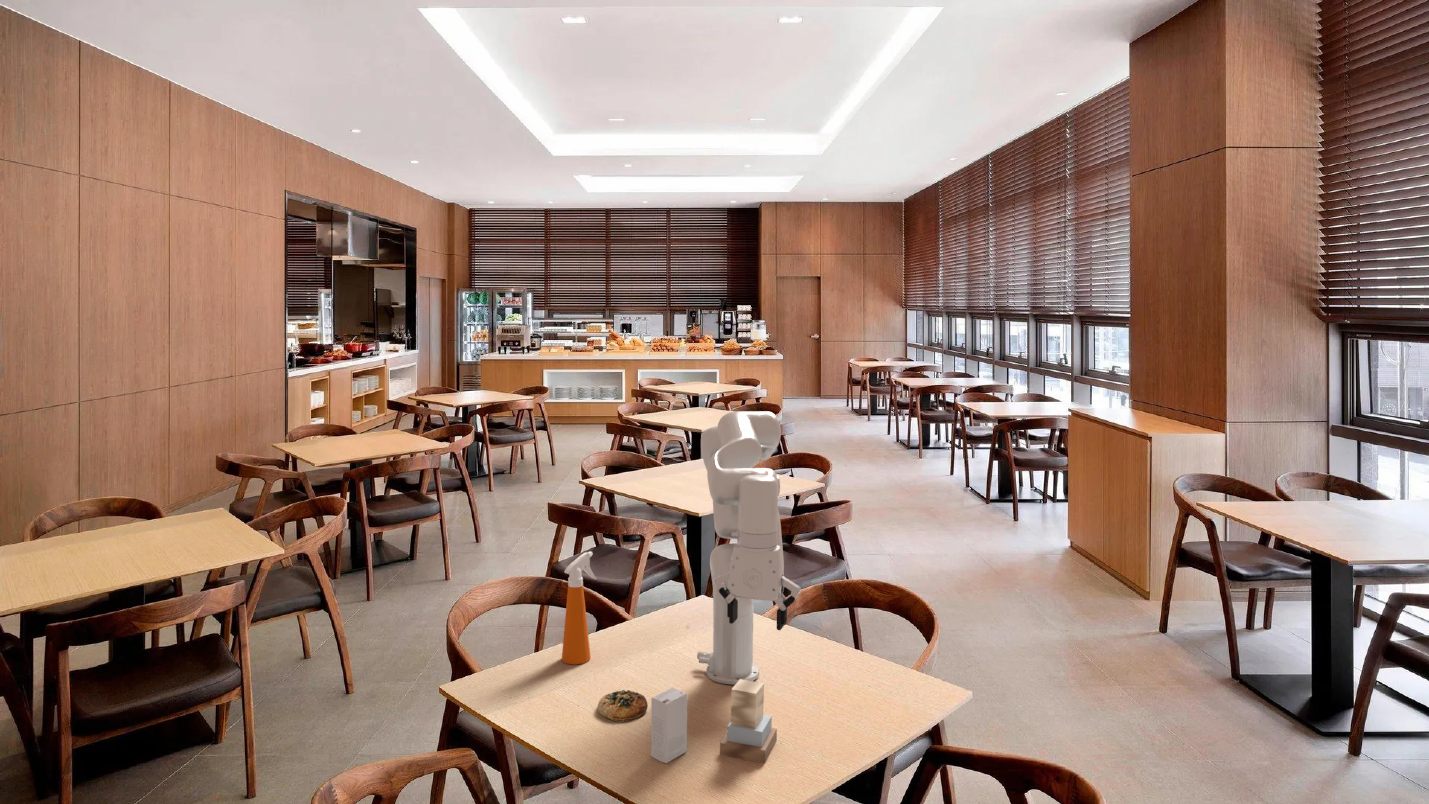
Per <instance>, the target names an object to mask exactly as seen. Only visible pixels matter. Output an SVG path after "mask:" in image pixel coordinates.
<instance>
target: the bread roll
mask: <svg viewBox="0 0 1429 804" xmlns="http://www.w3.org/2000/svg"><path fill="white" fill-rule="evenodd" d="M647 710H648V702H647V699H646V697H645V696H644V695H643V694H641V693H639V692H637V691H632V690H629V689H628V690H625V689H622V690H615V691H612V692H611V693H610V692H609V693H608V694H605V695H603V696H602V697H600V699H599V701H598V703H597V711H598V713H599V714H600V716H601V717H604V718H606V719H609V720H612V721H615V722H628V721H632V720H634V719H637V718H641V717H642V716H643V715H644V714H646V713H647Z"/></svg>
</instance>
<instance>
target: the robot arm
mask: <svg viewBox="0 0 1429 804" xmlns="http://www.w3.org/2000/svg"><path fill="white" fill-rule="evenodd" d="M781 436H782V427H781V424H780V421H779V419H778V417H777V416H776V415H775V414H774V413H773V412H772V411H768V410H767V411H766V410H764V411H761V410H758V411H757V410H756V411H754V410H751V411H750V410H749V411H745V410H743V411H739V410H737V411H731V412H728V413H725V414H724V415H722V416H721V418H719V420H718V423H717V426H713V427H709V428H707V429H705V430H704V431H703V432H702V434H701V436H700V437H701V438H700V450H701V456H702V460H703V464H704V466H705V469H706V472H707V475H706V477H707V484H708V490H709V494H710V498H711V499H712V512H713V523H714V530H715V533H716V534H717V536H718V537H719V538H723V539H728V540H729V539H730V540H737V541H736V542H737V543H723V544H720V545H718V546H716V547H714V548H713V549H712V550H711V552H710V556H709V569H710V575H711V581H712V582H711V583H712V594H713V595H712V596H713V597H712V601H713V604H712V605H713V608H712V609H713V621H712V624H713V628H712V629H713V631H712V633H713V635H712V637H713V638H712V639H713V640H712V641H713V642H712V643H713V645H712V649H713V650H712V651H710V652H706V651H698V652H697V654H696V658H697V660H698V663H699V664H706V665H707V667H706V676H707V677H708V678H709V679H710V680H712V681H713V682H716V683H719V684H722V685H723V684H724V685H732V686H735V685H736V683H737V682H738V681H739V680H740V679H742V680H748V681H753V682H755V680H757V679H758V677H759V676H760V668H759V667H758V665H756V663H754V655H753V654H754V601H753V600H756V601H757V600H758V601H764V602H765V601H766V602H774V603H775V604H776V606H778V609H777V611H776V630H777V631H781V630H782V629H783V628H784V626H786V625H787V620H788V608H789V607H790V606H791V605H792V604H793V603H794V602H795V601H796V600H797V597H798V596H799V594H800V592H801V590H802V588H801V586H800V585H798V584H796V583H795V582H793V581H792V580H790V579H789V578H787V577H785V574H784V571H785V562H784V550H783V548H784V547H783V538H782V525H781V517H780V516H781V515H780V512H779V511H780V510H779V509H778V508H779V507H778V506H779V505H778V504H779V503H778V501H779V500H778V498H779V496H780V492H781V480H780V476H779V475H778V474H777V473H776V472H775V470H773V469H772V468H768V467H755V466H757V464H758V463H759V462H760V461H765V460H768V459H769V458H771V456H772V455H773V454H774V453H775V450H776V449H777V448H778V447H779V444H780V442H781ZM785 588H786V589H788V591H790V592H791V593H790V595H789V596H788V597H787V598H786V596H785V595H784V591H785V590H784V589H785Z"/></svg>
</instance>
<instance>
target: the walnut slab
mask: <svg viewBox="0 0 1429 804" xmlns="http://www.w3.org/2000/svg"><path fill="white" fill-rule="evenodd" d="M777 733H778V729H777V728H773V727H772V728H771V732H770V734H769V736H768V738H767V739H766V741H765V743H764V745H763V746H762V747H758V746H753V745H747V744H741V743H735V742H730V741H727V732H725V734H724V736H723V737H722V739H721V741H720V743H719V755H720V756H725V757H730V758H736V759H740V760H747V761H752V762H758V763H763V764H765V763H766V762H767V760H768V758H769V756H770V755H771V753H772V751H773V749H774V747H775V745H776V743H777V740H778V739H777V738H778V734H777Z"/></svg>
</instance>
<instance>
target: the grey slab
mask: <svg viewBox="0 0 1429 804" xmlns="http://www.w3.org/2000/svg"><path fill="white" fill-rule="evenodd" d="M772 719H773V717H772V715H768V714H763V719H762V720H761V721H760V723H759V724H758V726H757V727H756V729H754V728H749V727H744V726H739V725H734V724H731V721H730V722H729V723H728V724H727V726H726V727H727V729H726V733H727V741H730V742H735V743H741V744H747V745H753V746H758V747H762V746H763V745H764V743H765V741H766V739H767V738H768V736H769V734H770V732H771V728H773V727H772V724H773V723H772Z"/></svg>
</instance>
